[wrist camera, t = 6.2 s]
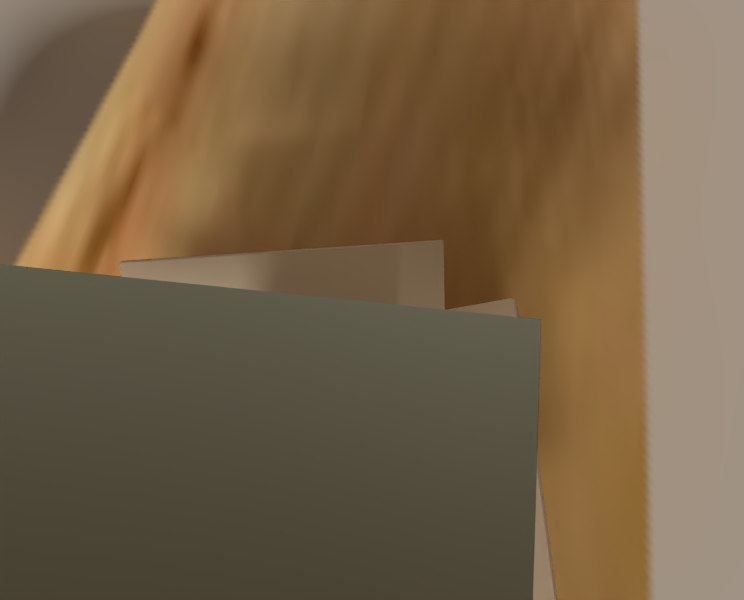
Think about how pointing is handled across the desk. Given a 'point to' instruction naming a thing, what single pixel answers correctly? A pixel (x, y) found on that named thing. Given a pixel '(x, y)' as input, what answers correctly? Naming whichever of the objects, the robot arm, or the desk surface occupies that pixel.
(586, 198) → the desk surface
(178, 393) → the box
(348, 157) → the desk surface
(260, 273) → the carton
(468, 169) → the desk surface
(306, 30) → the desk surface
